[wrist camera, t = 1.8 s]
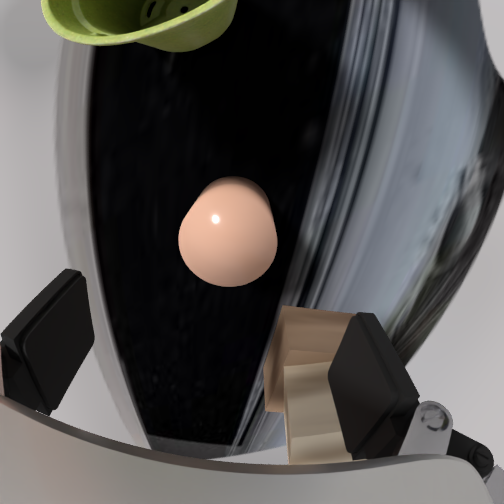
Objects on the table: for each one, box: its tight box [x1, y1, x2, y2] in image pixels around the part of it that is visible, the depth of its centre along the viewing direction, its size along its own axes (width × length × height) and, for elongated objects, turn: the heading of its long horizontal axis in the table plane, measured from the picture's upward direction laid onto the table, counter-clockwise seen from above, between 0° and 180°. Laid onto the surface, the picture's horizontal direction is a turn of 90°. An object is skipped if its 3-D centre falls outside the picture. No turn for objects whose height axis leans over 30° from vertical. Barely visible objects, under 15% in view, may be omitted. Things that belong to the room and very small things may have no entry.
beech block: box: [284, 361, 367, 465], centre depth 17 cm, size 6×6×6 cm
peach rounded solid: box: [179, 176, 277, 287], centre depth 16 cm, size 5×5×5 cm
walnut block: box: [264, 305, 356, 412], centre depth 21 cm, size 7×7×5 cm
